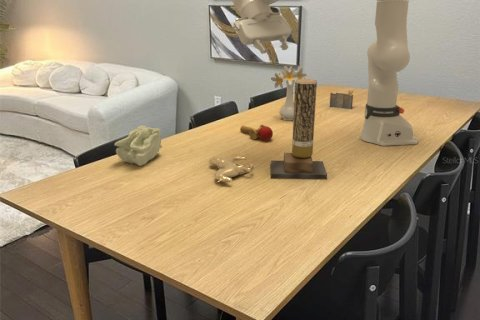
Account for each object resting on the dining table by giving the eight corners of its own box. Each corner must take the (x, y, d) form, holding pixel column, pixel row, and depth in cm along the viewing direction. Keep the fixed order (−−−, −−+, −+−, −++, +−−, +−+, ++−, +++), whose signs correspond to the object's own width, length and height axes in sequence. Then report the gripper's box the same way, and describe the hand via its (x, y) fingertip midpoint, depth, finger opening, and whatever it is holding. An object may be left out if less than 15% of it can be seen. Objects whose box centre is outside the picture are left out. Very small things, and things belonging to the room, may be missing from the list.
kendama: (234, 137, 179) (262, 141, 165) (235, 122, 178) (263, 126, 164) (248, 136, 184) (276, 141, 170) (249, 122, 183) (277, 125, 169)
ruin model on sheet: (352, 108, 218) (353, 90, 215) (350, 110, 216) (352, 91, 212) (331, 106, 223) (332, 88, 220) (329, 107, 221) (330, 89, 217)
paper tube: (313, 153, 141) (318, 79, 133) (310, 159, 135) (315, 82, 127) (293, 151, 143) (297, 78, 135) (290, 157, 137) (293, 81, 129)
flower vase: (267, 121, 196) (267, 68, 187) (287, 113, 209) (288, 62, 200) (291, 126, 188) (293, 70, 179) (310, 117, 202) (312, 65, 193)
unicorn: (232, 159, 151) (189, 168, 142) (232, 148, 149) (189, 157, 141) (264, 178, 135) (218, 190, 127) (264, 167, 134) (218, 178, 125)
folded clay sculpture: (142, 183, 148) (129, 154, 136) (119, 166, 154) (105, 137, 142) (177, 152, 156) (169, 123, 145) (154, 137, 162) (144, 108, 151)
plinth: (322, 165, 144) (323, 151, 143) (326, 179, 133) (327, 164, 131) (270, 164, 146) (270, 151, 144) (270, 178, 134) (271, 163, 133)
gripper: (235, 12, 130) (255, 48, 127) (282, 8, 141) (302, 41, 139) (227, 25, 135) (246, 60, 132) (273, 20, 147) (292, 52, 144)
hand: (275, 50), depth 136 cm, fingers open, 8 cm apart
